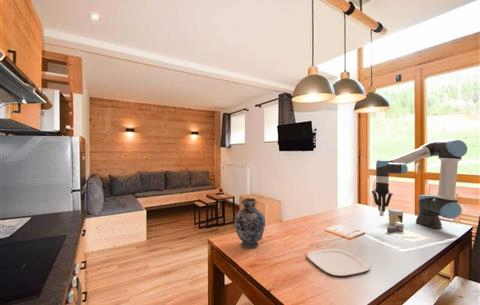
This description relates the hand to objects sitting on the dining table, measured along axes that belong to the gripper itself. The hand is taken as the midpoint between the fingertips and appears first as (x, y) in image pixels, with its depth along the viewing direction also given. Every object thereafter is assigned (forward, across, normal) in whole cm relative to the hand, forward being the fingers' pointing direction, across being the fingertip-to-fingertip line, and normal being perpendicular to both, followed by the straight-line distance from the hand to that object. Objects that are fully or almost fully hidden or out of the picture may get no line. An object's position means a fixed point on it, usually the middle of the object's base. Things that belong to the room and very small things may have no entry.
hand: (381, 215), depth 157 cm
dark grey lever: (+10, +7, +4) cm, 13 cm away
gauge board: (+11, +12, +4) cm, 17 cm away
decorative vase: (+13, -36, -88) cm, 96 cm away
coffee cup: (+11, 0, +22) cm, 25 cm away
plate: (+13, +6, -64) cm, 66 cm away
